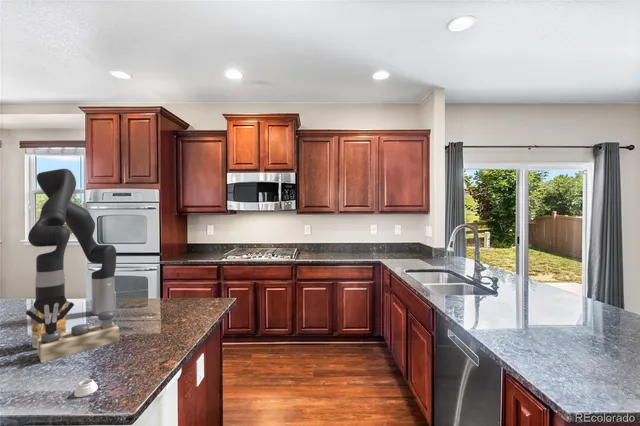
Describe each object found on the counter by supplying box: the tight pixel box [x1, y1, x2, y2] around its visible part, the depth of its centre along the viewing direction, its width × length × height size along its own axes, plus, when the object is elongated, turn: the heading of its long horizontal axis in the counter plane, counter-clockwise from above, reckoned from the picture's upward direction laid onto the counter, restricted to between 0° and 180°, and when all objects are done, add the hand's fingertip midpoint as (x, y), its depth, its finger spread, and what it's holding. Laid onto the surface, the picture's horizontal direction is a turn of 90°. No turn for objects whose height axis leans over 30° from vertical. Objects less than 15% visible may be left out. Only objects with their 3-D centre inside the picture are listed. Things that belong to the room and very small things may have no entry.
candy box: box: [31, 304, 67, 349], centre depth 113 cm, size 9×4×15 cm, turn 163°
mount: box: [37, 321, 120, 364], centre depth 109 cm, size 22×10×5 cm, turn 139°
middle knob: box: [70, 323, 90, 336], centre depth 109 cm, size 5×5×7 cm
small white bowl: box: [73, 378, 98, 398], centre depth 82 cm, size 5×3×5 cm
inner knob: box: [97, 311, 115, 330], centre depth 115 cm, size 5×5×7 cm
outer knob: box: [41, 331, 61, 344], centre depth 103 cm, size 5×5×7 cm
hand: (50, 333), depth 103 cm, fingers closed
